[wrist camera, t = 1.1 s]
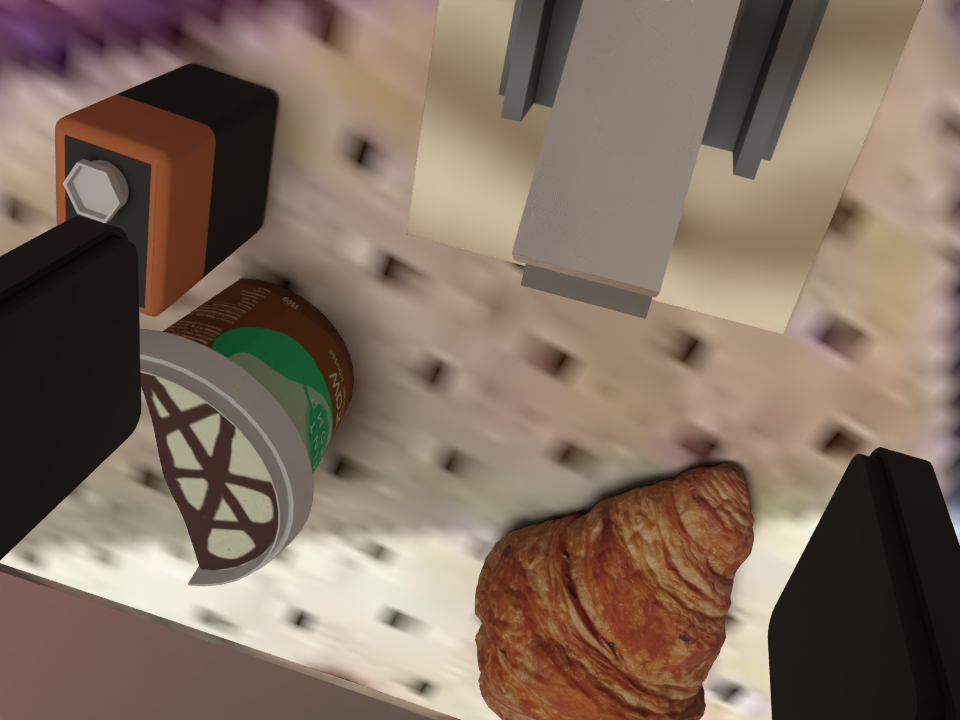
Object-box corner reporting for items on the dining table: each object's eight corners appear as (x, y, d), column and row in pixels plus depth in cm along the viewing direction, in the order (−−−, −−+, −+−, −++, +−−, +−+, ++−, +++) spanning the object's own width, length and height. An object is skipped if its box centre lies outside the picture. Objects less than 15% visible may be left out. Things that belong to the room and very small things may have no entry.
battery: (282, 90, 37) (152, 165, 29) (264, 232, 41) (144, 335, 32) (186, 58, 37) (30, 122, 29) (177, 202, 41) (36, 296, 33)
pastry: (439, 454, 45) (389, 562, 39) (751, 454, 41) (756, 576, 34) (493, 682, 53) (459, 804, 46) (760, 702, 49) (765, 840, 42)
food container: (392, 469, 46) (318, 610, 38) (284, 461, 48) (191, 594, 39) (355, 251, 40) (258, 361, 32) (233, 249, 42) (109, 354, 33)
